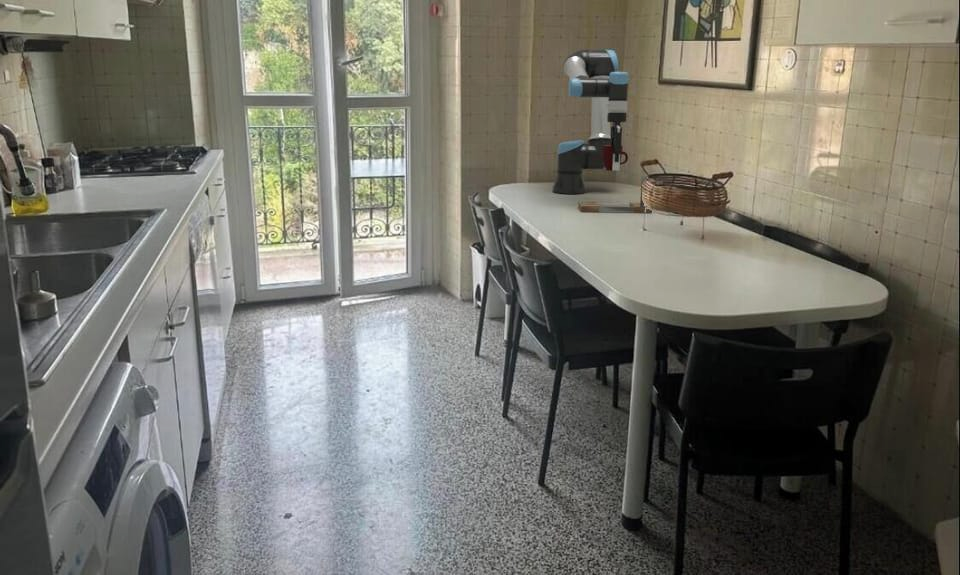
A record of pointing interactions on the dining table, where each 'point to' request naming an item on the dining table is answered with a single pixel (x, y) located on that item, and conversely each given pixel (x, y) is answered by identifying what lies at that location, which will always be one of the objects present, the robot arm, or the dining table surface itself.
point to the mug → (610, 156)
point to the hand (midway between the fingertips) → (614, 169)
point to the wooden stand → (632, 206)
